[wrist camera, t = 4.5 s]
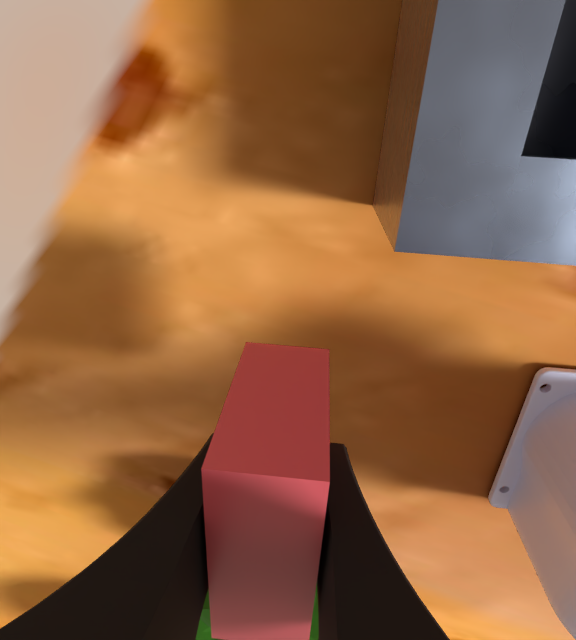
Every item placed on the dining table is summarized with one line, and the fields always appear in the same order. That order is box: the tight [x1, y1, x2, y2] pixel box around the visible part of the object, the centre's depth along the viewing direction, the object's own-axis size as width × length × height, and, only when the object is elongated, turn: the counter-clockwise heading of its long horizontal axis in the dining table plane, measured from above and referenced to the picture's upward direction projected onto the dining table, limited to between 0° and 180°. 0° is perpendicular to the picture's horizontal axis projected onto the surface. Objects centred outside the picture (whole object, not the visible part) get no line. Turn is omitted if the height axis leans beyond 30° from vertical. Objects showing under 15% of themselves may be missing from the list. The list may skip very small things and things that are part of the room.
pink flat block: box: [201, 342, 330, 640], centre depth 12 cm, size 6×2×5 cm, turn 177°
